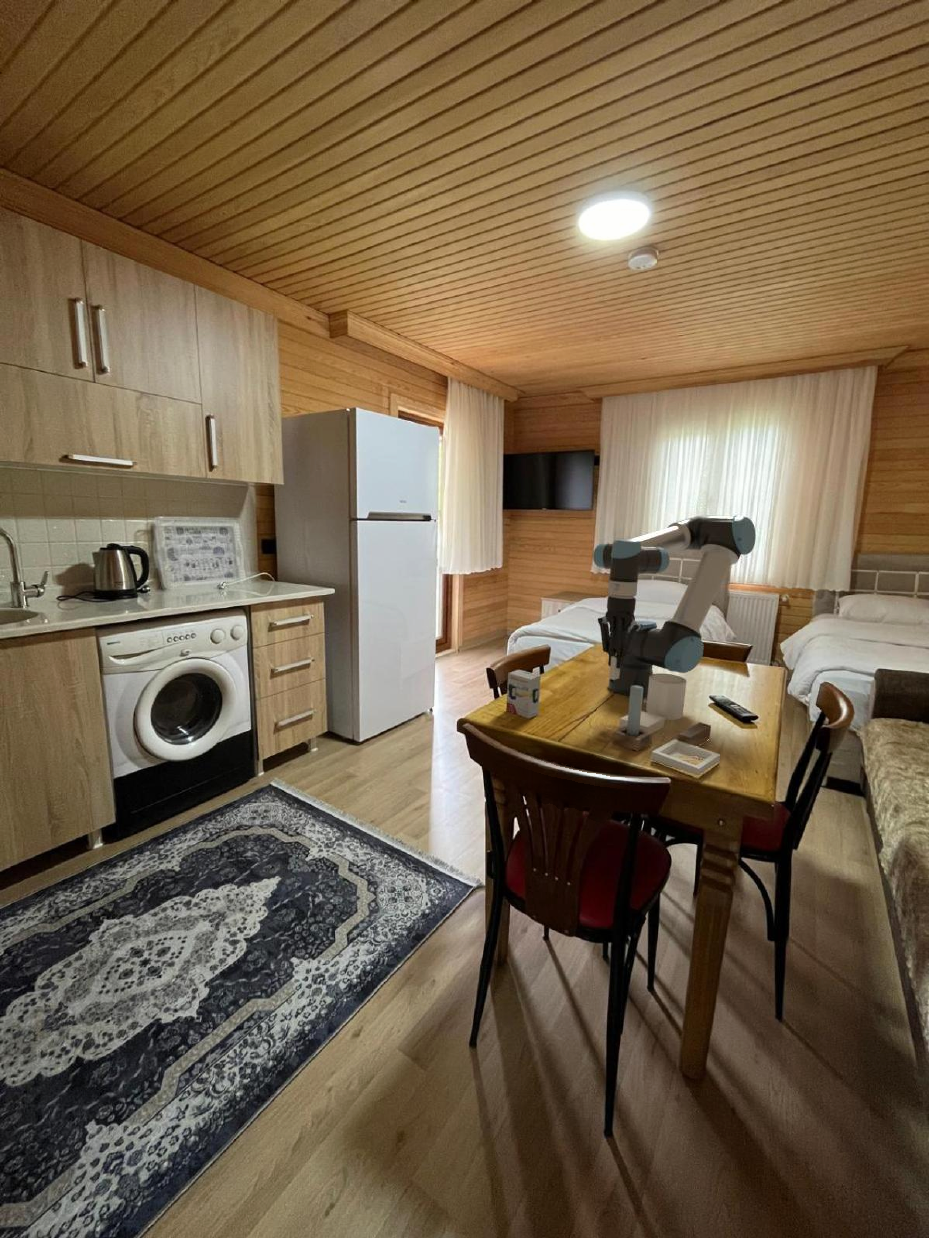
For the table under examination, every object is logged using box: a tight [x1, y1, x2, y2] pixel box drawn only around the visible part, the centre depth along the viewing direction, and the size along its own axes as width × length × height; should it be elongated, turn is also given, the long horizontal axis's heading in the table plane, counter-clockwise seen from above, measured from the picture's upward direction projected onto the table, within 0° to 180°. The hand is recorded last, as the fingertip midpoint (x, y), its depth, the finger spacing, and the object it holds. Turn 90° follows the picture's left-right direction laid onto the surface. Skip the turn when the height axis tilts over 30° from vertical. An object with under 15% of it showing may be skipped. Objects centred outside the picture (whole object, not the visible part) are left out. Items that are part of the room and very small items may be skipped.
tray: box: [650, 738, 721, 775], centre depth 127 cm, size 11×11×2 cm
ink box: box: [505, 669, 541, 719], centre depth 155 cm, size 9×5×12 cm, turn 47°
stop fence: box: [677, 722, 712, 747], centre depth 137 cm, size 3×12×4 cm, turn 132°
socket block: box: [611, 725, 653, 752], centre depth 137 cm, size 7×7×3 cm
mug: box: [645, 673, 687, 721], centre depth 156 cm, size 14×10×11 cm
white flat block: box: [619, 710, 666, 734], centre depth 148 cm, size 8×10×3 cm
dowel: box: [627, 685, 644, 737], centre depth 135 cm, size 3×3×15 cm
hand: (614, 678), depth 152 cm, fingers closed
